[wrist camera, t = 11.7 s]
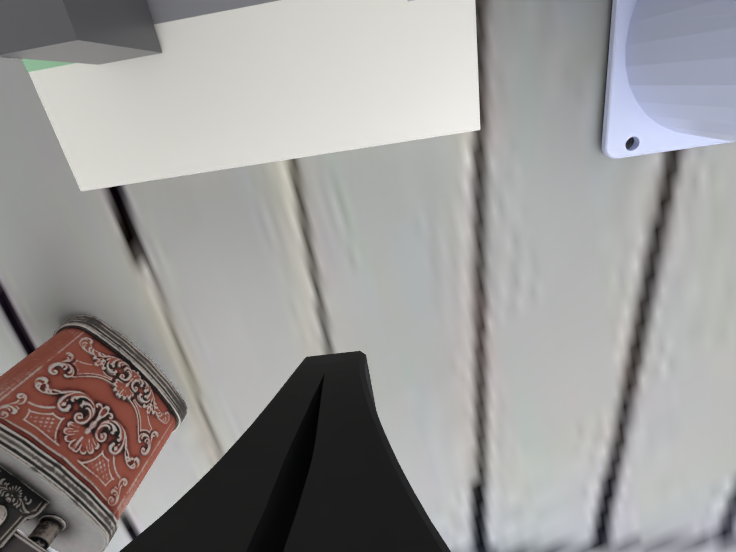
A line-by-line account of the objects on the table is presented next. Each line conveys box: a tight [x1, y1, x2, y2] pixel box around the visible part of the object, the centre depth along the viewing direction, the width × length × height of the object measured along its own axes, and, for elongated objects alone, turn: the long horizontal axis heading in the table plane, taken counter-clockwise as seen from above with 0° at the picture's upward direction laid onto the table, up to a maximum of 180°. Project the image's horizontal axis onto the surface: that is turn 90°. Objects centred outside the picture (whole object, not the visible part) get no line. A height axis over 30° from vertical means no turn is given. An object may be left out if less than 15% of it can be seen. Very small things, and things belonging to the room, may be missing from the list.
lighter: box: [0, 315, 187, 552], centre depth 18 cm, size 8×3×10 cm, turn 32°
